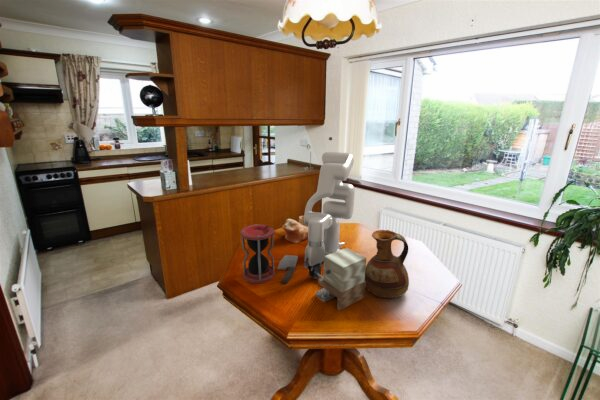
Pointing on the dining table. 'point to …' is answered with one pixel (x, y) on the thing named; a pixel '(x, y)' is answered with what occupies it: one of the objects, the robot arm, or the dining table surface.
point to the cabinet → (344, 276)
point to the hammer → (317, 271)
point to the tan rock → (296, 230)
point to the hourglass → (258, 253)
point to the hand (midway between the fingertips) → (314, 274)
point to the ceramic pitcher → (387, 267)
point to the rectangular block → (324, 295)
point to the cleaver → (288, 267)
